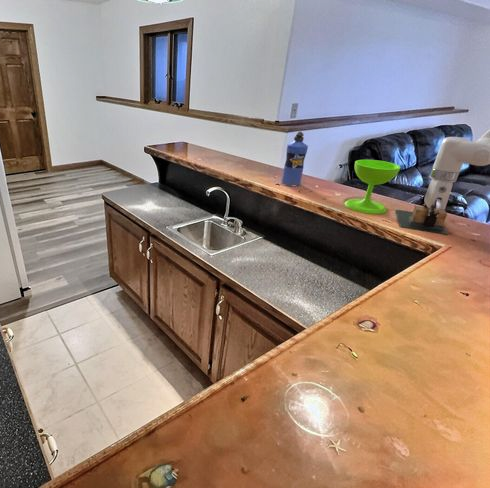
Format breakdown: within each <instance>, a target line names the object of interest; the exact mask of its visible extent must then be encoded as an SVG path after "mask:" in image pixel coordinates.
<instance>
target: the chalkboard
mask: <svg viewBox="0 0 490 488" xmlns="http://www.w3.org/2000/svg"><path fill="white" fill-rule="evenodd" d="M412 213H413V211H409V210H402V209H395V215H396V219H397V223H398V226H399V228H401V229H408V230H413V231H417V232H419V231H420V232H425V233H432V234H437V235H442V236H443V235H444V236H449V234H448V232H447V230H446V228H445V227H444V229H443V230H437V229H430V228H424V227H418V226H412V225H410V224H409V221H408V219H409V217H411V216H412Z"/></svg>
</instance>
